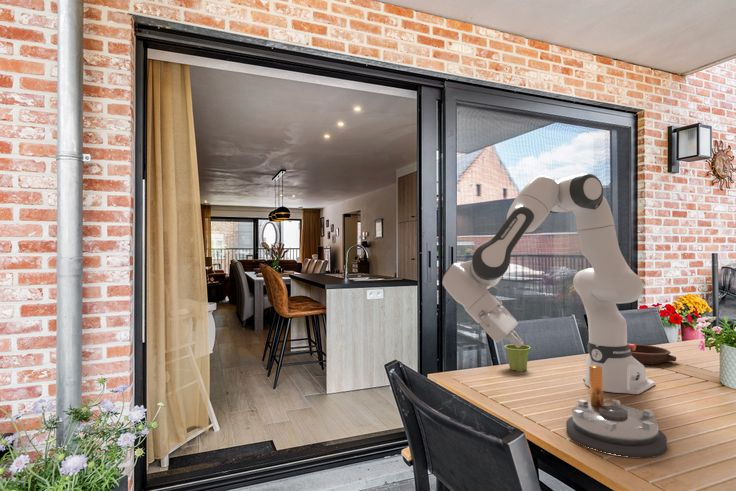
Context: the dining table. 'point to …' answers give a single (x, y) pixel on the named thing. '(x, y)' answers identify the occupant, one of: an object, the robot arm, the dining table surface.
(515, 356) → the plant pot
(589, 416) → the round lugged disc
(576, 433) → the base plate
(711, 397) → the dining table surface
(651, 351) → the dish
